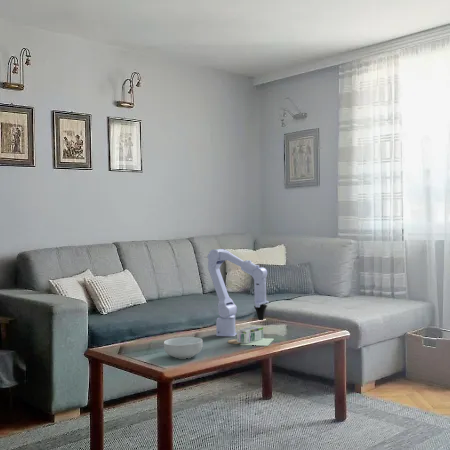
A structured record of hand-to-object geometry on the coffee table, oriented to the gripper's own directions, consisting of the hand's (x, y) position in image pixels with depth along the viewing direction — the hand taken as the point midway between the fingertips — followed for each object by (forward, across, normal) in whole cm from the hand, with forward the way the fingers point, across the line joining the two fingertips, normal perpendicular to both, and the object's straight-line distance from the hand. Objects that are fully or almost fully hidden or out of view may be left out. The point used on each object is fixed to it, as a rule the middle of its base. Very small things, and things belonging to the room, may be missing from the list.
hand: (260, 320), depth 286 cm
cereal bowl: (+9, -45, +24) cm, 52 cm away
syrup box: (+6, -2, +1) cm, 6 cm away
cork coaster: (+9, -11, +10) cm, 17 cm away
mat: (+9, -10, 0) cm, 13 cm away
